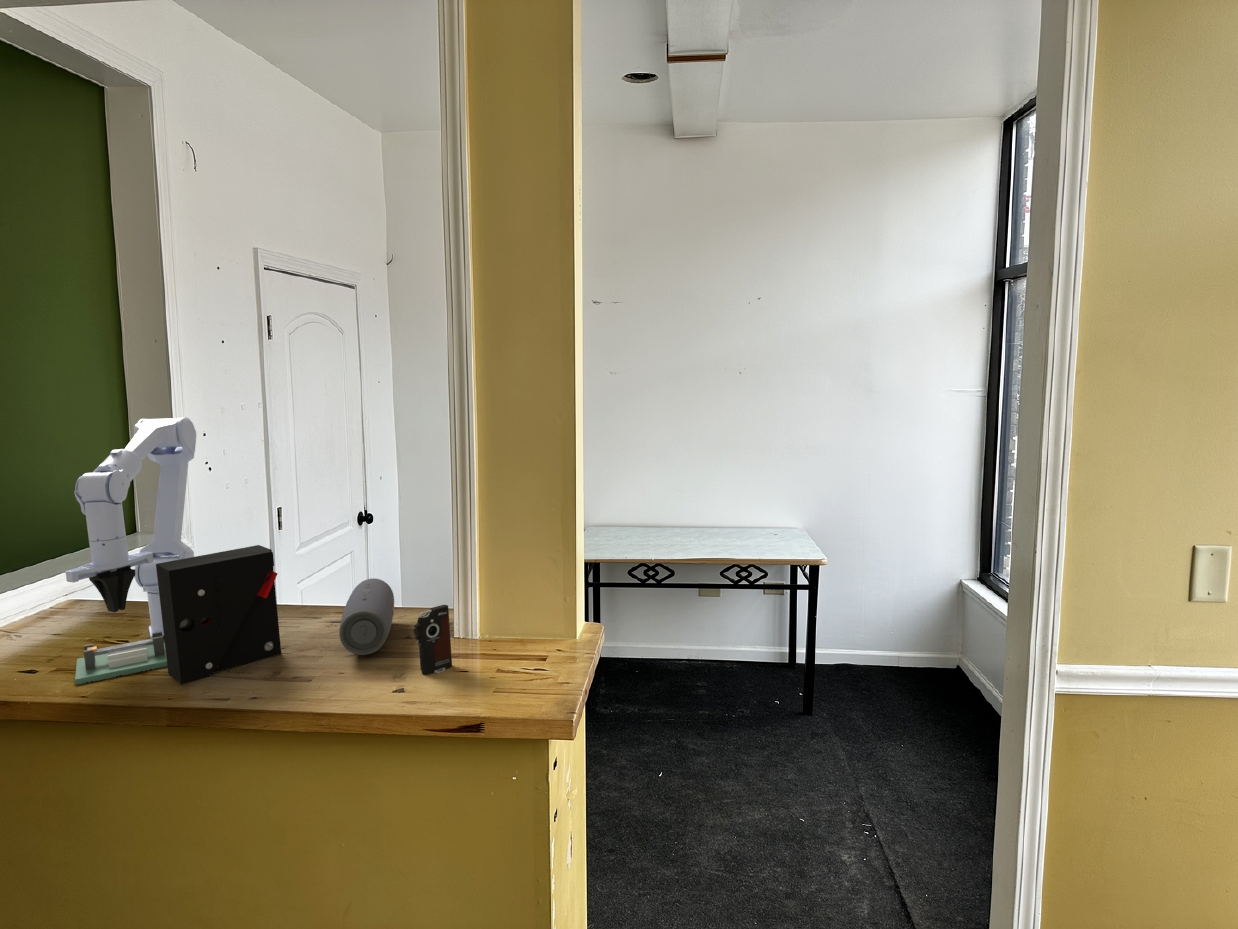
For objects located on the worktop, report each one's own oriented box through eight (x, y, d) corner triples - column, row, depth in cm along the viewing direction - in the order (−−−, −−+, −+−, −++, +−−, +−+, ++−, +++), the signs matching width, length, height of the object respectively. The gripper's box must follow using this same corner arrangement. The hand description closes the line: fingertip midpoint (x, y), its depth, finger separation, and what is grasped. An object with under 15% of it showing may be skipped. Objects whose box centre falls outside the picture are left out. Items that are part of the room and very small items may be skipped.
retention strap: (160, 640, 152) (159, 633, 152) (161, 643, 150) (160, 636, 150) (88, 654, 146) (87, 647, 146) (88, 658, 144) (87, 650, 144)
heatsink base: (175, 645, 158) (173, 623, 157) (180, 663, 148) (178, 640, 147) (77, 664, 149) (74, 641, 149) (75, 685, 139) (72, 660, 139)
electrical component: (264, 643, 157) (254, 543, 154) (285, 656, 150) (275, 551, 147) (164, 670, 145) (152, 561, 142) (182, 685, 138) (169, 571, 135)
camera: (421, 677, 137) (417, 615, 136) (415, 672, 140) (410, 611, 138) (455, 668, 141) (451, 607, 140) (449, 663, 143) (445, 603, 142)
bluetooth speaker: (392, 659, 147) (388, 605, 145) (338, 665, 145) (334, 611, 143) (398, 620, 169) (395, 573, 167) (351, 624, 167) (348, 577, 165)
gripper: (133, 527, 154) (142, 596, 156) (52, 545, 142) (62, 619, 144) (156, 530, 151) (164, 600, 153) (75, 548, 138) (85, 624, 140)
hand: (116, 610), depth 148 cm, fingers closed
